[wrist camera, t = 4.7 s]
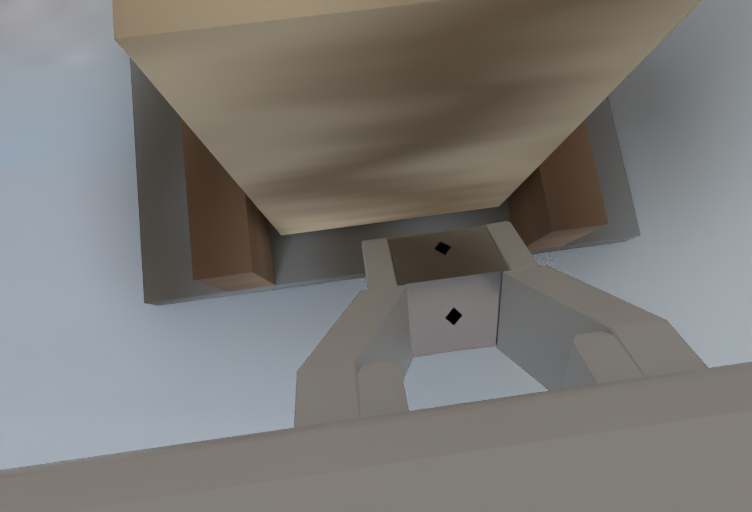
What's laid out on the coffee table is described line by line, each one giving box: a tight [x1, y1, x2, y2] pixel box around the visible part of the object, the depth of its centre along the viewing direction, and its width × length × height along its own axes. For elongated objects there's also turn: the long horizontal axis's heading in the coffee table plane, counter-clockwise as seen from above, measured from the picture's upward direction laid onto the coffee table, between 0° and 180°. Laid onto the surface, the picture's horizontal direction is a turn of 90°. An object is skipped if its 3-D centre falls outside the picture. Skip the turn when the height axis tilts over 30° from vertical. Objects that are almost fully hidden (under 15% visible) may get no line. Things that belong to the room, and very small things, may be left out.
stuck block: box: [112, 0, 702, 235], centre depth 11 cm, size 7×7×10 cm
